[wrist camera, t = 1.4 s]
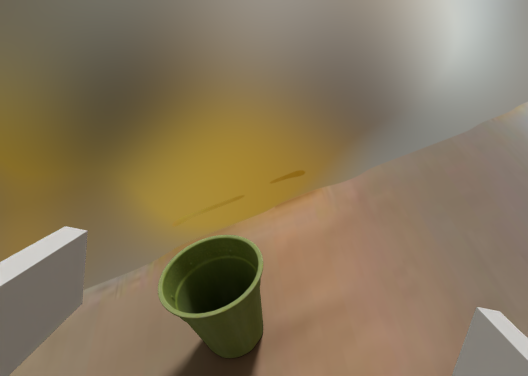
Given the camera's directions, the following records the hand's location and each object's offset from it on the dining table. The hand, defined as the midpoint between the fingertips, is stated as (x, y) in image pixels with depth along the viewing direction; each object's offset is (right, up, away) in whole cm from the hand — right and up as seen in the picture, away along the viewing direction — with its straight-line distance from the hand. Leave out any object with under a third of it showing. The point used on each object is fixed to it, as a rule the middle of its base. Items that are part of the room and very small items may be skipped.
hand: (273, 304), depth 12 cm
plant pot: (-4, -15, +33) cm, 37 cm away
